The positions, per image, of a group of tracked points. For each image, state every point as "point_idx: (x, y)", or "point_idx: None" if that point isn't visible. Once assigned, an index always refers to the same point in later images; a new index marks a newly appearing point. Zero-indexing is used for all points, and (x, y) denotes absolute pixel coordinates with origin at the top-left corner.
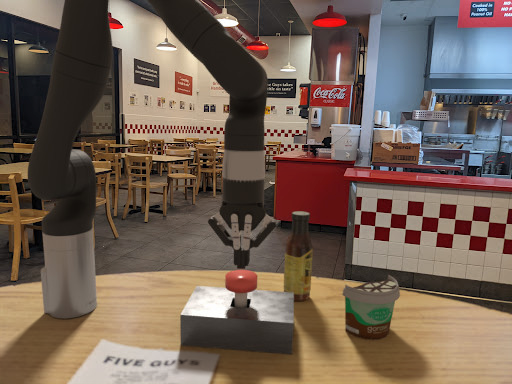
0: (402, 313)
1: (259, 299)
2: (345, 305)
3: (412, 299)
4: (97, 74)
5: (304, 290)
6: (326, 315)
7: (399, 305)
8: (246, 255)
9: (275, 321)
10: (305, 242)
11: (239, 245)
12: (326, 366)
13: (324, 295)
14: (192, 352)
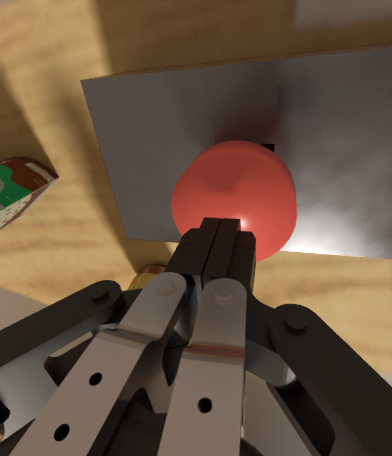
0: (4, 237)
1: None
2: (20, 198)
3: (5, 273)
4: None
5: (136, 279)
6: (100, 224)
7: (14, 258)
8: (183, 260)
9: (126, 77)
10: None
11: (203, 297)
12: (54, 42)
13: (118, 283)
14: (381, 9)
